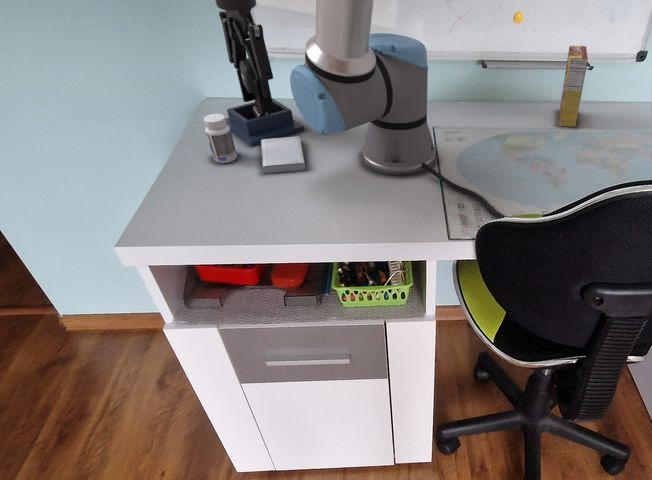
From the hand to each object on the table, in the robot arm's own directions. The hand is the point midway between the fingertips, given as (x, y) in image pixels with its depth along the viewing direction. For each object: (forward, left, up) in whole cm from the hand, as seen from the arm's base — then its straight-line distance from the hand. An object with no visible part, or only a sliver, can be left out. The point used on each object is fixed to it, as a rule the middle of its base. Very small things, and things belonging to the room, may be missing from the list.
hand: (258, 105), depth 119 cm
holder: (0, 0, -5) cm, 5 cm away
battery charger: (0, 0, -2) cm, 3 cm away
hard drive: (-15, +4, -5) cm, 17 cm away
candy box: (-40, -60, -5) cm, 72 cm away
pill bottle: (-8, +13, -5) cm, 17 cm away
